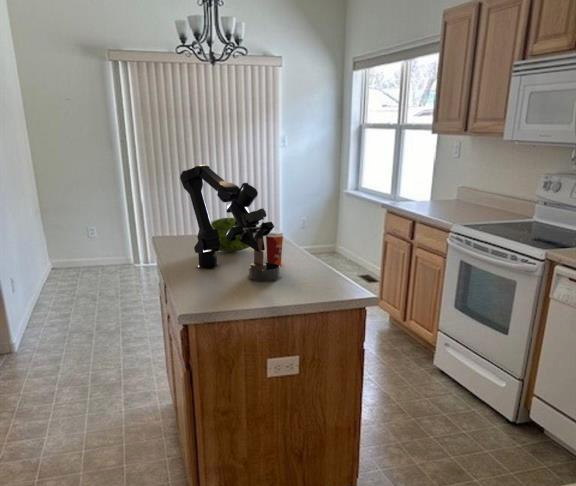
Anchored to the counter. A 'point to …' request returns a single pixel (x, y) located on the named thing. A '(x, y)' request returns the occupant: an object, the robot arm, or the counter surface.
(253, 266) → the brown stepped tower
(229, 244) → the lettuce
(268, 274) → the tub
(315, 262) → the counter surface
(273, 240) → the paper cup
